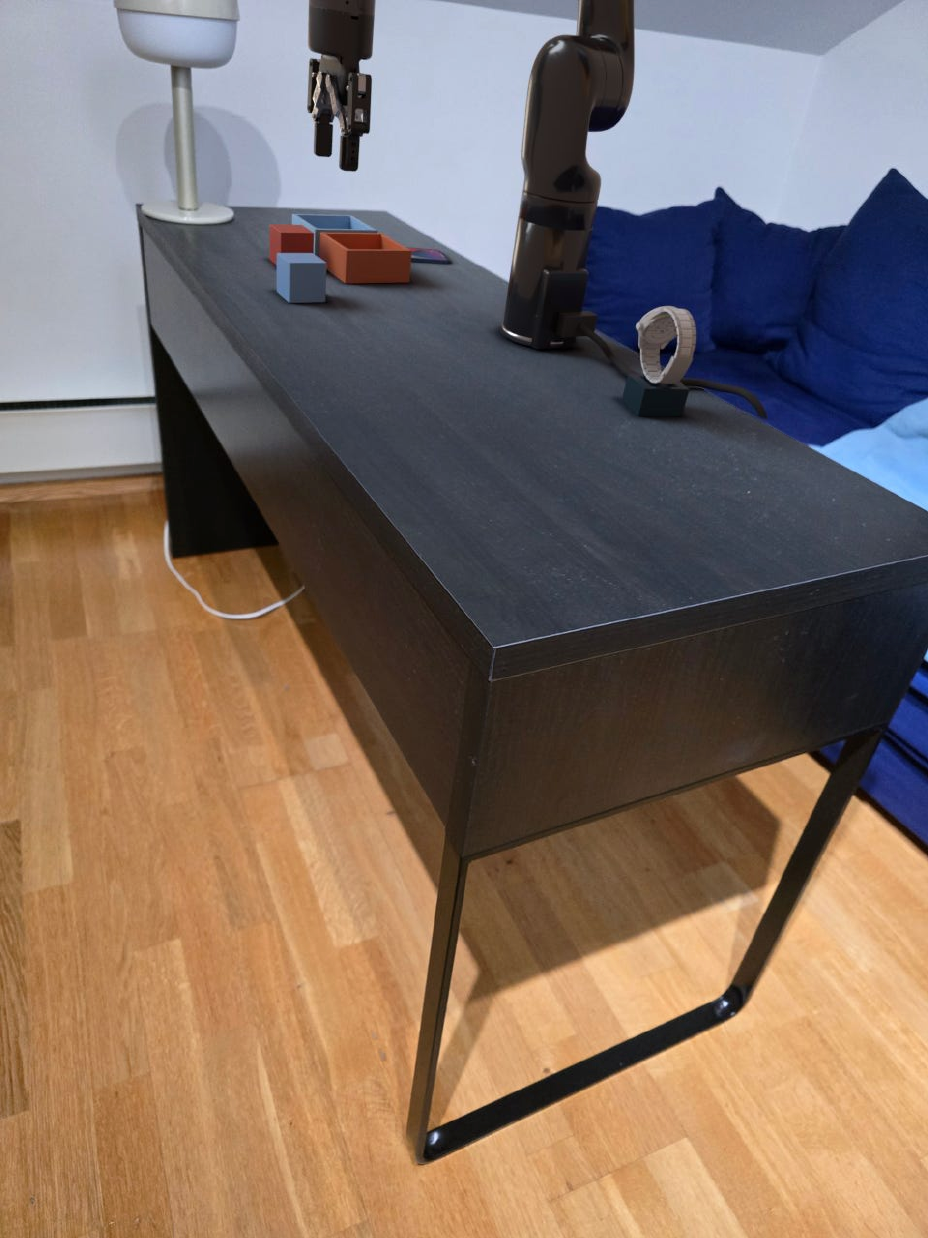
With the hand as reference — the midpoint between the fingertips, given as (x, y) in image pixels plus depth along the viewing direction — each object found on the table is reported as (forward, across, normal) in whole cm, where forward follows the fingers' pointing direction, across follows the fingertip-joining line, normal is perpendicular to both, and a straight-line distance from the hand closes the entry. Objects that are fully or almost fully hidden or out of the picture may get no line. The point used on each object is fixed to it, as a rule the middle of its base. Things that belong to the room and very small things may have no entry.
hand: (335, 163), depth 110 cm
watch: (+16, +44, +21) cm, 51 cm away
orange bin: (+16, -11, +10) cm, 22 cm away
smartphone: (+17, -22, +21) cm, 35 cm away
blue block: (+16, 0, -4) cm, 17 cm away
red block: (+17, -16, 0) cm, 23 cm away
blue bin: (+17, -23, +10) cm, 30 cm away
